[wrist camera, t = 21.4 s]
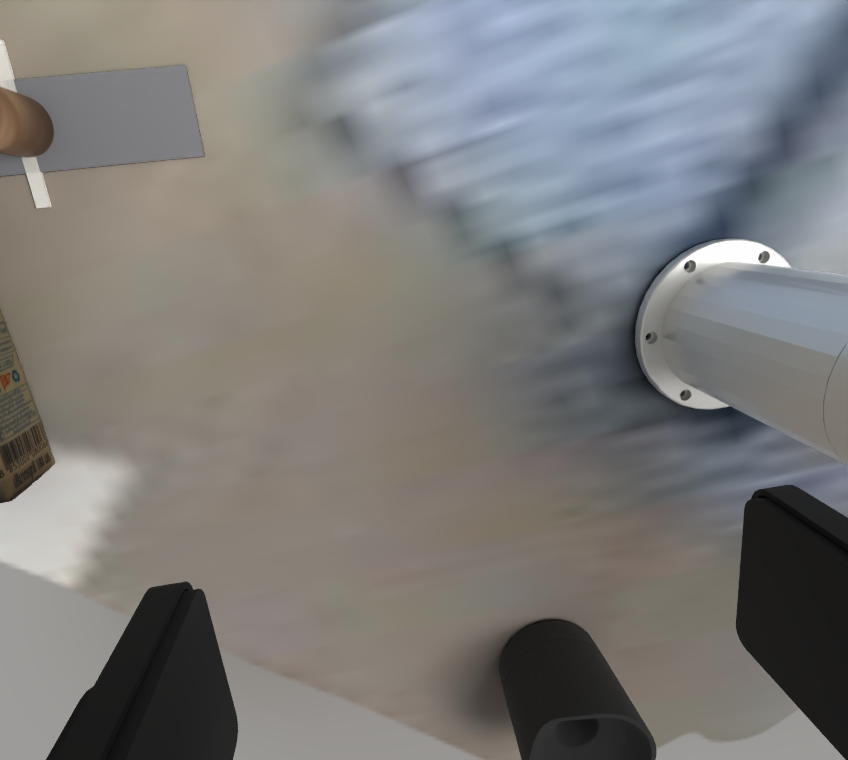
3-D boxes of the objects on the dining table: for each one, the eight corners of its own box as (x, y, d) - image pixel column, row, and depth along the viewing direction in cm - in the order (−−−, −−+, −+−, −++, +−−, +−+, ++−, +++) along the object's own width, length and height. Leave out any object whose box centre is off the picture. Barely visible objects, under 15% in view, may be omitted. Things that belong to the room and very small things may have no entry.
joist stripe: (178, 27, 32) (177, 26, 32) (211, 190, 35) (211, 190, 35) (-117, 50, 31) (-120, 49, 31) (-59, 218, 33) (-61, 218, 33)
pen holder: (489, 624, 47) (523, 728, 37) (596, 604, 48) (657, 702, 38) (498, 710, 50) (531, 827, 40) (599, 690, 50) (655, 801, 41)
